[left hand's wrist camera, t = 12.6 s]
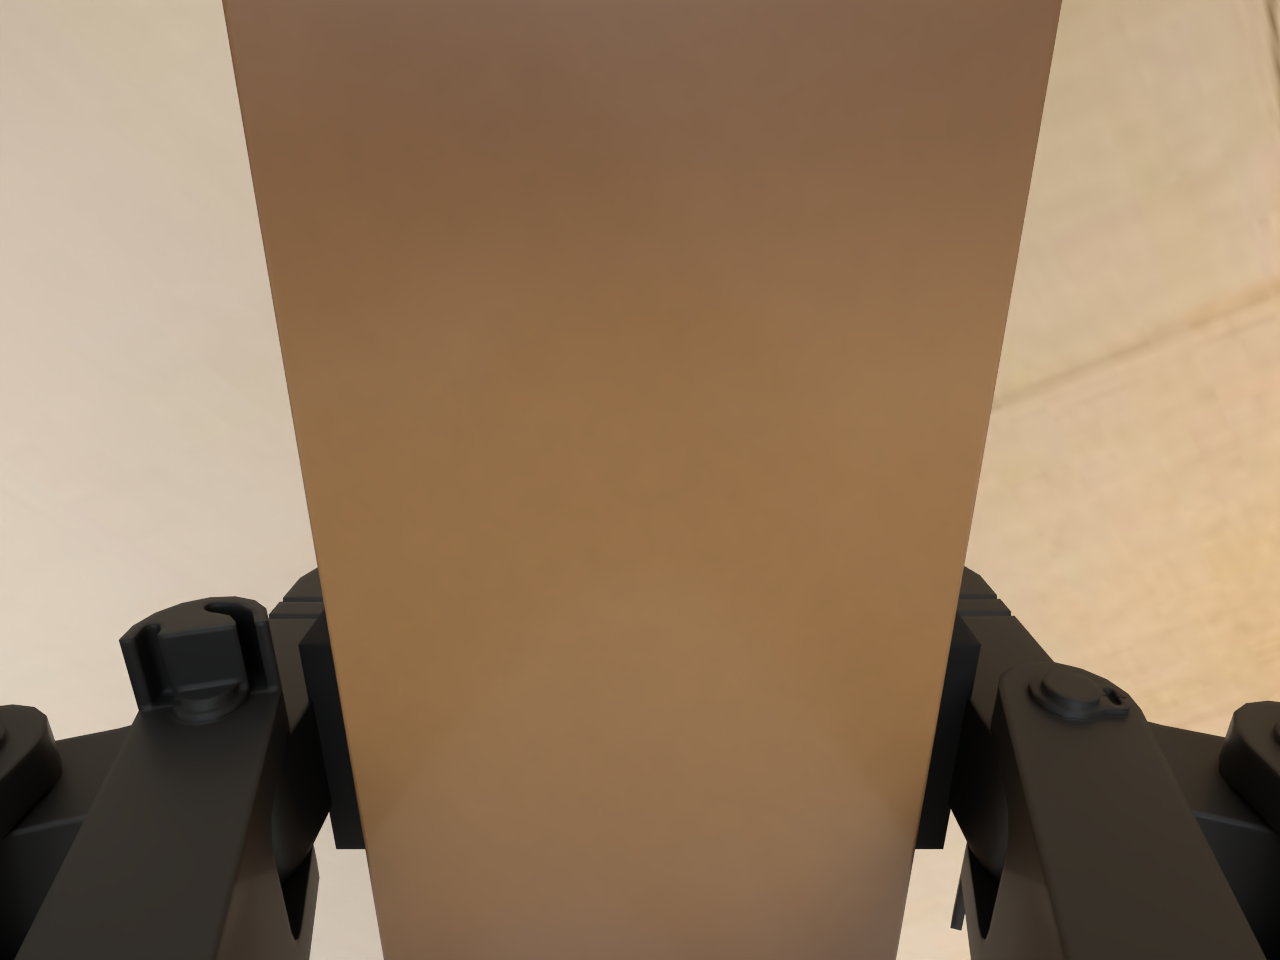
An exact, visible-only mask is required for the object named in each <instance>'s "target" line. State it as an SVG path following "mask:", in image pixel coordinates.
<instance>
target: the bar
mask: <svg viewBox="0 0 1280 960" xmlns="http://www.w3.org/2000/svg"><path fill="white" fill-rule="evenodd" d="M222 3H223V9H224V14H225V20H226V26H227V32H228V38H229V44H230V50H231V56H232V62H233V68H234V74H235V80H236V86H237V91H238V97H239V103H240V109H241V115H242V121H243V127H244V133H245V139H246V145H247V151H248V157H249V163H250V169H251V174H252V180H253V186H254V192H255V198H256V204H257V210H258V216H259V222H260V228H261V234H262V240H263V246H264V251H265V257H266V263H267V269H268V275H269V281H270V287H271V293H272V299H273V305H274V311H275V317H276V323H277V328H278V334H279V340H280V346H281V352H282V358H283V364H284V370H285V376H286V382H287V388H288V394H289V400H290V405H291V411H292V417H293V423H294V429H295V435H296V441H297V447H298V453H299V459H300V465H301V471H302V477H303V483H304V488H305V494H306V500H307V506H308V512H309V518H310V524H311V530H312V536H313V542H314V548H315V554H316V560H317V565H318V571H319V577H320V583H321V589H322V595H323V601H324V607H325V613H326V619H327V625H328V631H329V637H330V642H331V648H332V654H333V660H334V666H335V672H336V678H337V684H338V690H339V696H340V702H341V708H342V714H343V720H344V725H345V731H346V737H347V743H348V749H349V755H350V761H351V767H352V773H353V779H354V785H355V791H356V797H357V802H358V808H359V814H360V820H361V826H362V832H363V838H364V844H365V850H366V856H367V862H368V868H369V874H370V879H371V885H372V891H373V897H374V903H375V909H376V915H377V921H378V927H379V933H380V939H381V945H382V951H383V956H384V960H896V956H897V950H898V944H899V939H900V933H901V927H902V921H903V915H904V910H905V904H906V898H907V892H908V887H909V881H910V875H911V869H912V863H913V858H914V852H915V846H916V840H917V835H918V829H919V823H920V817H921V812H922V806H923V800H924V794H925V788H926V783H927V777H928V771H929V765H930V760H931V754H932V748H933V742H934V736H935V731H936V725H937V719H938V713H939V708H940V702H941V696H942V690H943V685H944V679H945V673H946V667H947V661H948V656H949V650H950V644H951V638H952V633H953V627H954V621H955V615H956V609H957V604H958V598H959V592H960V586H961V581H962V575H963V569H964V563H965V558H966V552H967V546H968V540H969V534H970V529H971V523H972V517H973V511H974V506H975V500H976V494H977V488H978V483H979V477H980V471H981V465H982V459H983V454H984V448H985V442H986V436H987V431H988V425H989V419H990V413H991V407H992V402H993V396H994V390H995V384H996V379H997V373H998V367H999V361H1000V356H1001V350H1002V344H1003V338H1004V332H1005V327H1006V321H1007V315H1008V309H1009V304H1010V298H1011V292H1012V286H1013V280H1014V275H1015V269H1016V263H1017V257H1018V252H1019V246H1020V240H1021V234H1022V229H1023V223H1024V217H1025V211H1026V205H1027V200H1028V194H1029V188H1030V182H1031V177H1032V171H1033V165H1034V159H1035V153H1036V148H1037V142H1038V136H1039V130H1040V125H1041V119H1042V113H1043V107H1044V102H1045V96H1046V90H1047V84H1048V78H1049V73H1050V67H1051V61H1052V55H1053V50H1054V44H1055V38H1056V32H1057V27H1058V21H1059V15H1060V9H1061V3H1062V0H222Z"/></svg>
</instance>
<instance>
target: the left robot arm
mask: <svg viewBox="0 0 1280 960" xmlns="http://www.w3.org/2000/svg"><path fill="white" fill-rule="evenodd" d="M119 642H120V646H121V649H122V653H123V656H124V660H125V663H126V667H127V670H128V674H129V677H130V681H131V684H132V688H133V691H134V695H135V698H136V702H137V706H138V709H139V712H138V714H137V716H136V718H135V720H134V722H133V724H132V725H130V726H127V727H123V728H119V729H114V730H109V731H103V732H98V733H93V734H88V735H83V736H78V737H73V738H68V739H63V740H58V741H55V739H54V737H53V734H52V731H51V728H50V725H49V722H48V719H47V716H46V715H45V714H43V713H42V712H41V711H39V710H38V709H36V708H35V707H30V706H21V705H13V704H12V705H4V706H0V960H309V957H310V949H311V941H312V933H313V925H314V916H315V908H316V900H317V892H318V884H319V872H318V865H317V859H316V854H315V849H314V841H315V839H316V837H317V835H318V833H319V831H320V829H321V827H322V825H323V823H324V821H325V819H326V817H327V815H328V813H330V818H331V823H332V829H333V834H334V839H335V845H336V849H365V844H364V838H363V832H362V826H361V820H360V814H359V808H358V802H357V797H356V791H355V785H354V779H353V773H352V767H351V761H350V755H349V749H348V743H347V737H346V731H345V725H344V720H343V714H342V708H341V702H340V696H339V690H338V684H337V678H336V672H335V666H334V660H333V654H332V648H331V642H330V637H329V631H328V625H327V619H326V613H325V607H324V601H323V595H322V589H321V583H320V577H319V571H318V568H316V569H314V570H313V571H311V572H309V573H308V574H306V575H304V576H303V577H301V578H300V579H299V580H298V581H297V582H296V583H295V585H294V586H293V587H292V588H291V589H290V590H289V592H288V593H287V594H286V595H285V596H284V597H283V602H279V603H278V605H277V606H276V607H275V608H274V609H273V610H272V612H271V613H270V614H269V619H268V615H267V610H266V608H265V607H264V606H262V605H261V604H259V603H258V602H257V601H255V600H251V599H246V598H241V597H236V596H233V597H209V598H205V599H200V600H195V601H190V602H185V603H181V604H178V605H175V606H173V607H170V608H167V609H164V610H162V611H159V612H156V613H154V614H152V615H151V616H149V617H147V618H145V619H144V620H142V621H140V622H139V623H137V624H135V625H133V626H132V627H131V628H130V629H129V630H128V631H127V632H126V633H125V634H124V635H123V636H122V637H121V638H120V639H119ZM950 810H952V812H953V814H954V816H955V818H956V820H957V822H958V824H959V826H960V828H961V830H962V832H963V834H964V836H965V838H966V840H967V844H966V849H965V854H964V859H963V864H962V869H961V874H960V879H959V884H958V889H957V894H956V899H955V904H954V909H953V915H952V922H951V928H953V929H957V930H961V929H962V925H963V920H964V915H966V923H967V931H968V939H969V947H970V955H971V960H1280V702H1274V701H1262V702H1254V703H1246V704H1245V705H1243V706H1242V707H1240V708H1239V709H1238V710H1236V711H1235V712H1234V714H1233V717H1232V720H1231V723H1230V725H1229V728H1228V731H1227V734H1226V737H1220V736H1215V735H1210V734H1205V733H1200V732H1194V731H1189V730H1184V729H1179V728H1174V727H1169V726H1164V725H1159V724H1155V723H1151V722H1147V720H1146V718H1145V716H1144V714H1143V712H1142V710H1141V709H1140V708H1139V706H1138V705H1137V704H1136V703H1135V702H1134V700H1133V699H1132V698H1131V697H1130V695H1129V694H1128V693H1126V692H1125V691H1123V690H1122V689H1120V688H1119V687H1117V686H1116V685H1114V684H1113V683H1111V682H1110V681H1109V680H1107V679H1105V678H1102V677H1100V676H1098V675H1095V674H1093V673H1091V672H1088V671H1086V670H1083V669H1081V668H1077V667H1072V666H1068V665H1064V664H1060V663H1055V662H1054V661H1053V660H1052V659H1051V658H1050V657H1049V656H1048V654H1047V653H1046V652H1045V651H1044V650H1043V649H1042V647H1041V646H1040V645H1039V644H1038V643H1037V642H1036V640H1035V639H1034V638H1033V637H1032V636H1031V635H1030V633H1029V632H1028V631H1027V630H1026V629H1025V628H1024V626H1023V625H1022V624H1021V623H1020V622H1019V620H1018V619H1017V618H1016V617H1015V616H1011V611H1010V610H1009V609H1008V608H1007V606H1006V605H1005V604H1004V603H1003V602H1002V601H1001V599H997V595H996V594H995V592H994V591H993V590H992V589H991V588H990V587H989V585H988V584H987V583H986V582H985V581H984V580H983V578H982V577H981V576H980V575H978V574H977V573H975V572H973V571H972V570H970V569H968V568H967V567H965V566H964V569H963V575H962V581H961V586H960V592H959V598H958V604H957V609H956V615H955V621H954V627H953V633H952V638H951V644H950V650H949V656H948V661H947V667H946V673H945V679H944V685H943V690H942V696H941V702H940V708H939V713H938V719H937V725H936V731H935V736H934V742H933V748H932V754H931V760H930V765H929V771H928V777H927V783H926V788H925V794H924V800H923V806H922V812H921V817H920V823H919V829H918V835H917V840H916V846H915V849H943V847H944V842H945V836H946V831H947V826H948V820H949V815H950Z"/></svg>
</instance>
